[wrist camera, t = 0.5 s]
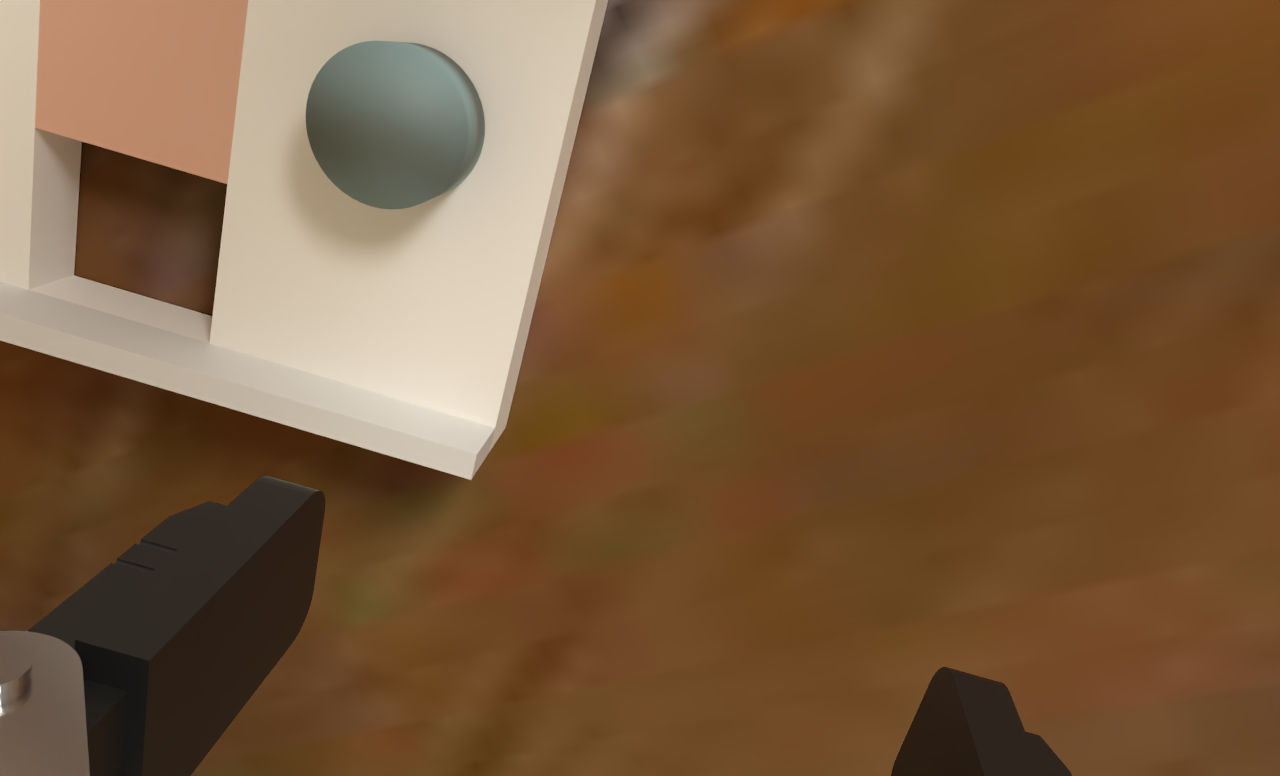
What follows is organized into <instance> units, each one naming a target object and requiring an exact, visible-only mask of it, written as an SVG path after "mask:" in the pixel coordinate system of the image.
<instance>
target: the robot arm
mask: <svg viewBox="0 0 1280 776" xmlns="http://www.w3.org/2000/svg"><path fill="white" fill-rule="evenodd" d="M324 512H325V496H324V493H323V492H322V491H320V490H316V489H313V488H309V487H305V486H302V485H298V484H295V483H291V482H288V481H284V480H280V479H277V478H273V477H270V476H262V477H260V478H259V479H257V480H256V481H255V482H254V483H253V484H251V485H250V486H249V487H248V488H247V489H246V490H245V491H244V492H242V493H241V494H240V495H239V496H238V497H237V498H236V499H234V500H233V501H232V502H231V503H230V504H229V505H228V506H225V505H221V504H218V503H214V502H211V501H209V502H206V503H204V504H201V505H198V506H196V507H193V508H190V509H188V510H185V511H182V512H180V513H177V514H174V515H172V516H169V517H168V518H167V519H166V520H164V521H163V522H162V523H161V524H159V525H158V526H157V527H156V528H154V529H153V530H152V531H151V532H149V533H148V534H147V535H146V536H144V537H143V538H142V539H141V542H140V544H139V545H138V544H135V545H133V546H132V547H131V548H130V549H128V550H127V551H126V552H125V553H123V554H122V555H121V556H120V557H119V558H117V562H116V563H115V564H112V563H111V564H110V565H109V566H107V567H106V568H105V569H104V570H102V571H101V572H100V573H99V574H98V575H96V576H95V577H94V578H93V579H91V580H90V581H89V582H88V583H86V584H85V585H84V586H83V587H81V588H80V589H79V590H78V591H77V592H75V593H74V594H73V595H72V596H70V597H69V598H68V599H67V600H65V601H64V602H63V603H62V604H60V605H59V606H58V607H57V608H55V609H54V610H53V611H52V612H51V613H49V614H48V615H47V616H46V617H44V618H43V619H42V620H41V621H39V622H38V623H37V624H36V625H34V626H33V627H32V628H31V629H30V630H28V631H2V632H0V776H190V775H191V774H192V773H193V771H194V770H195V769H196V768H197V766H198V765H199V764H200V762H201V761H202V760H203V758H204V757H205V756H206V755H207V753H208V752H209V751H210V749H211V748H212V747H213V745H214V744H215V743H216V742H217V740H218V739H219V738H220V736H221V735H222V734H223V732H224V731H225V730H226V729H227V727H228V726H229V725H230V723H231V722H232V721H233V719H234V718H235V717H236V716H237V714H238V713H239V712H240V710H241V709H242V708H243V706H244V705H245V704H246V703H247V701H248V700H249V699H250V697H251V696H252V695H253V693H254V692H255V691H256V690H257V688H258V687H259V686H260V684H261V683H262V682H263V680H264V679H265V678H266V677H267V675H268V674H269V673H270V671H271V670H272V669H273V667H274V666H275V665H276V664H277V662H278V661H279V660H280V658H281V657H282V656H283V654H284V653H285V652H286V651H287V649H288V648H289V647H290V645H291V644H292V643H293V641H294V640H295V638H296V637H297V635H298V633H299V631H300V629H301V627H302V625H303V623H304V621H305V618H306V616H307V613H308V610H309V607H310V604H311V600H312V596H313V590H314V583H315V576H316V569H317V562H318V555H319V547H320V540H321V533H322V526H323V519H324ZM891 776H1072V775H1071V773H1070V771H1069V770H1068V768H1067V767H1066V766H1065V765H1064V764H1063V763H1062V761H1061V760H1060V759H1059V758H1058V757H1057V755H1056V754H1055V753H1054V752H1053V751H1052V750H1051V748H1050V747H1049V746H1048V745H1047V744H1046V742H1045V741H1044V740H1043V739H1042V738H1041V737H1040V736H1039V735H1035V734H1032V733H1028V732H1025V730H1024V728H1023V725H1022V723H1021V720H1020V718H1019V715H1018V712H1017V710H1016V707H1015V705H1014V702H1013V700H1012V697H1011V695H1010V692H1009V690H1008V688H1007V687H1006V686H1005V684H1003V683H1001V682H997V681H994V680H990V679H986V678H983V677H979V676H976V675H972V674H969V673H965V672H961V671H958V670H954V669H951V668H947V667H942V668H940V669H939V670H938V671H937V672H936V673H935V675H934V676H933V678H932V680H931V682H930V684H929V686H928V689H927V691H926V693H925V695H924V697H923V700H922V702H921V704H920V706H919V709H918V711H917V713H916V715H915V717H914V720H913V722H912V724H911V726H910V729H909V731H908V733H907V735H906V738H905V740H904V742H903V744H902V746H901V749H900V751H899V753H898V755H897V758H896V760H895V763H894V766H893V770H892V774H891Z"/></svg>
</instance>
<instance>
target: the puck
mask: <svg viewBox="0 0 1280 776" xmlns="http://www.w3.org/2000/svg"><path fill="white" fill-rule="evenodd" d="M306 129H307V135H308V139H309V143H310V146H311V149H312V152H313V154H314V156H315V159H316V160H317V162H318V164H319V166H320V167H321V169H322V170H323V172H324V173H325V174H326V176H327V177H328V178H329V179H330V180H331V181H332V183H333V184H334V185H335V186H336V187H338V188H339V189H340V190H341V191H342V192H344V193H345V194H347V195H348V196H350V197H351V198H353V199H355V200H357V201H359V202H361V203H363V204H366V205H369V206H372V207H376V208H380V209H404V208H409V207H413V206H416V205H418V204H421V203H423V202H426V201H428V200H430V199H433V198H435V197H437V196H440V195H442V194H444V193H446V192H448V191H450V190H452V189H454V188H455V187H456V186H458V185H459V184H460V183H461V182H462V181H464V180H465V179H466V178H467V176H468V175H469V174H470V173H471V171H472V170H473V168H474V167H475V165H476V163H477V161H478V159H479V157H480V154H481V151H482V147H483V144H484V137H485V119H484V112H483V107H482V103H481V100H480V98H479V95H478V92H477V90H476V88H475V86H474V84H473V83H472V81H471V80H470V78H469V77H468V75H467V74H466V73H465V72H464V71H463V69H462V68H461V67H460V66H459V65H458V64H457V63H456V62H455V61H453V60H452V59H451V58H449V57H448V56H447V55H445V54H444V53H442V52H440V51H438V50H436V49H434V48H431V47H428V46H426V45H422V44H417V43H407V42H392V41H366V42H361V43H357V44H354V45H351V46H349V47H346V48H345V49H343V50H341V51H339V52H338V53H336V54H335V55H334V56H333V57H331V58H330V59H329V60H328V61H327V62H326V63H325V64H324V65H323V67H322V68H321V69H320V71H319V72H318V74H317V75H316V77H315V79H314V81H313V83H312V86H311V88H310V91H309V94H308V99H307V104H306Z"/></svg>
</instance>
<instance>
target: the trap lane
mask: <svg viewBox="0 0 1280 776" xmlns="http://www.w3.org/2000/svg"><path fill="white" fill-rule="evenodd" d="M607 3H608V0H0V341H4V342H7V343H11V344H14V345H17V346H21V347H24V348H27V349H31V350H34V351H38V352H41V353H44V354H48V355H51V356H54V357H58V358H61V359H65V360H68V361H71V362H75V363H78V364H81V365H85V366H88V367H92V368H95V369H98V370H102V371H105V372H108V373H112V374H115V375H119V376H122V377H125V378H129V379H132V380H135V381H139V382H142V383H146V384H149V385H152V386H156V387H159V388H162V389H166V390H169V391H173V392H176V393H179V394H183V395H186V396H189V397H193V398H196V399H200V400H203V401H206V402H210V403H213V404H216V405H220V406H223V407H227V408H230V409H233V410H237V411H240V412H243V413H247V414H250V415H253V416H257V417H260V418H264V419H267V420H270V421H274V422H277V423H280V424H284V425H287V426H291V427H294V428H297V429H301V430H304V431H307V432H311V433H314V434H318V435H321V436H324V437H328V438H331V439H334V440H338V441H341V442H345V443H348V444H351V445H355V446H358V447H361V448H365V449H368V450H372V451H375V452H378V453H382V454H385V455H388V456H392V457H395V458H399V459H402V460H405V461H409V462H412V463H415V464H419V465H422V466H426V467H429V468H432V469H436V470H439V471H442V472H446V473H449V474H453V475H456V476H459V477H463V478H466V479H469V480H471V479H472V478H473V476H474V475H475V473H476V472H477V470H478V469H479V467H480V466H481V464H482V462H483V461H484V459H485V458H486V456H487V455H488V453H489V452H490V450H491V449H492V447H493V446H494V444H495V443H496V441H497V440H498V438H499V437H500V435H501V434H502V432H503V431H504V429H505V428H506V424H507V420H508V416H509V412H510V408H511V403H512V399H513V395H514V391H515V387H516V383H517V378H518V374H519V370H520V366H521V362H522V358H523V353H524V349H525V345H526V341H527V337H528V333H529V328H530V324H531V320H532V316H533V312H534V308H535V303H536V299H537V295H538V291H539V287H540V283H541V278H542V274H543V270H544V266H545V262H546V258H547V253H548V249H549V245H550V241H551V237H552V233H553V228H554V224H555V220H556V216H557V212H558V208H559V203H560V199H561V195H562V191H563V187H564V183H565V178H566V174H567V170H568V166H569V162H570V158H571V153H572V149H573V145H574V141H575V137H576V133H577V128H578V124H579V120H580V116H581V112H582V108H583V103H584V99H585V95H586V91H587V87H588V83H589V78H590V74H591V70H592V66H593V62H594V58H595V53H596V49H597V45H598V41H599V37H600V33H601V28H602V24H603V20H604V16H605V12H606V8H607ZM366 41H392V42H407V43H417V44H422V45H426V46H428V47H431V48H434V49H436V50H438V51H440V52H442V53H444V54H445V55H447V56H448V57H449V58H451V59H452V60H453V61H455V62H456V63H457V64H458V65H459V66H460V67H461V68H462V69H463V71H464V72H465V73H466V74H467V75H468V77H469V78H470V80H471V81H472V83H473V84H474V86H475V88H476V90H477V92H478V95H479V98H480V100H481V103H482V107H483V112H484V119H485V137H484V144H483V147H482V151H481V154H480V157H479V159H478V161H477V163H476V165H475V167H474V168H473V170H472V171H471V173H470V174H469V175H468V176H467V178H466V179H465V180H464V181H462V182H461V183H460V184H459V185H458V186H456V187H455V188H454V189H452V190H450V191H448V192H446V193H444V194H442V195H440V196H437V197H435V198H433V199H430V200H428V201H426V202H423V203H421V204H418V205H416V206H413V207H409V208H404V209H380V208H376V207H372V206H369V205H366V204H363V203H361V202H359V201H357V200H355V199H353V198H351V197H350V196H348V195H347V194H345V193H344V192H342V191H341V190H340V189H339V188H338V187H336V186H335V185H334V184H333V183H332V181H331V180H330V179H329V178H328V177H327V176H326V174H325V173H324V172H323V170H322V169H321V167H320V166H319V164H318V162H317V160H316V159H315V156H314V154H313V152H312V149H311V146H310V143H309V139H308V135H307V129H306V104H307V99H308V94H309V91H310V88H311V86H312V83H313V81H314V79H315V77H316V75H317V74H318V72H319V71H320V69H321V68H322V67H323V65H324V64H325V63H326V62H327V61H328V60H329V59H330V58H331V57H333V56H334V55H335V54H336V53H338V52H339V51H341V50H343V49H345V48H346V47H349V46H351V45H354V44H357V43H361V42H366ZM82 142H85V143H89V144H92V145H96V146H99V147H102V148H106V149H109V150H113V151H116V152H119V153H123V154H126V155H130V156H133V157H136V158H140V159H143V160H147V161H150V162H153V163H157V164H160V165H164V166H167V167H170V168H174V169H177V170H181V171H184V172H187V173H191V174H194V175H198V176H201V177H204V178H208V179H211V180H215V181H218V182H221V183H225V184H227V192H226V201H225V210H224V219H223V228H222V237H221V245H220V254H219V263H218V272H217V281H216V289H215V298H214V307H213V316H210V315H207V314H203V313H200V312H196V311H193V310H190V309H186V308H183V307H180V306H176V305H173V304H169V303H166V302H163V301H159V300H156V299H152V298H149V297H146V296H142V295H139V294H136V293H132V292H129V291H125V290H122V289H119V288H115V287H112V286H108V285H105V284H102V283H98V282H95V281H91V280H88V279H85V278H81V277H78V276H75V275H74V269H75V251H76V234H77V217H78V199H79V182H80V165H81V148H82Z"/></svg>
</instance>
